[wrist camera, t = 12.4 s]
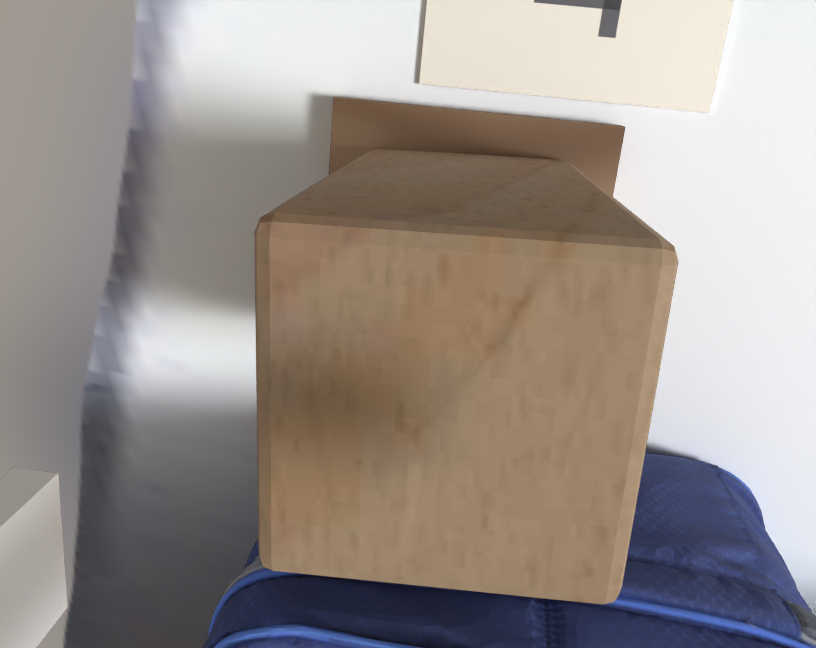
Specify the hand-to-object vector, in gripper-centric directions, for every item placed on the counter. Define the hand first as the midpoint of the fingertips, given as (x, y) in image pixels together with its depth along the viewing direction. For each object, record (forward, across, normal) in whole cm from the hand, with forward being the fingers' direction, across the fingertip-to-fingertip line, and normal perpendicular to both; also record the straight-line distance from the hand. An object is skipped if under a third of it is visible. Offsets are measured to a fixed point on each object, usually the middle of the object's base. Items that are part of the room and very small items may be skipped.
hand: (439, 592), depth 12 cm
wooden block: (+27, 0, 0) cm, 27 cm away
